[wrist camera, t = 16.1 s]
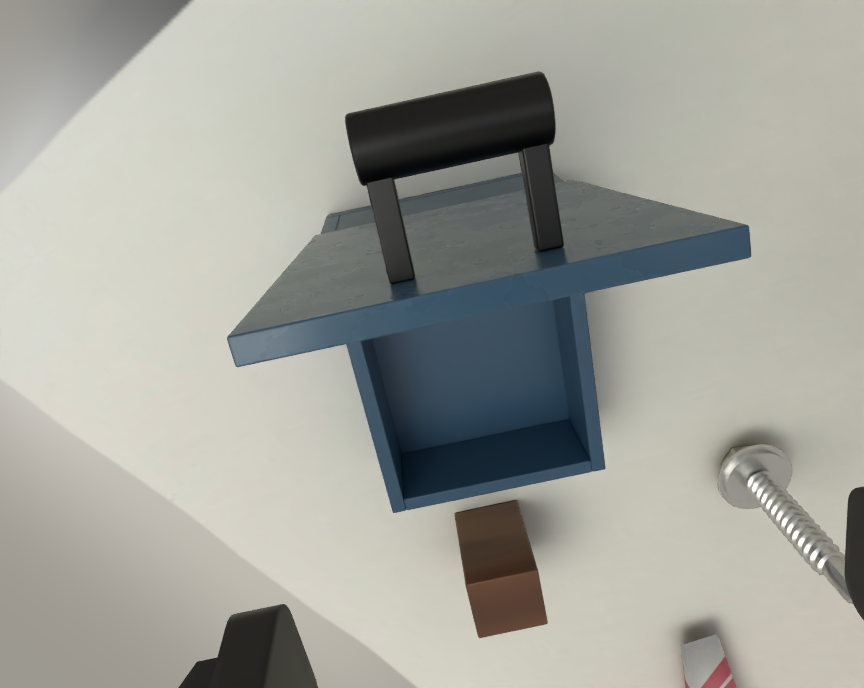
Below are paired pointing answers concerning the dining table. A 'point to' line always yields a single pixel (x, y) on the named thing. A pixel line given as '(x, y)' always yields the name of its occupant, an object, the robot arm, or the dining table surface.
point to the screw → (780, 506)
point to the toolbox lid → (470, 231)
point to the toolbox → (478, 388)
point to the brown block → (499, 570)
